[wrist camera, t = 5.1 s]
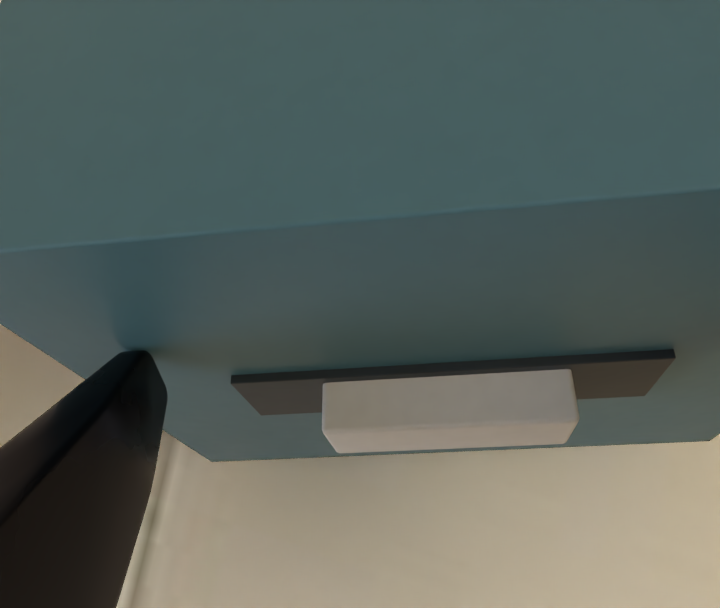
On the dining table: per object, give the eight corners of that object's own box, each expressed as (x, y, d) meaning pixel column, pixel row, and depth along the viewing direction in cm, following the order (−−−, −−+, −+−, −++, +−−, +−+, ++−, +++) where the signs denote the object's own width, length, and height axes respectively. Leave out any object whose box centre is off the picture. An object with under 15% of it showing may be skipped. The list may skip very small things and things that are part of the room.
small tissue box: (722, 485, 14) (1175, 247, 5) (206, 502, 15) (-133, 341, 7) (652, 225, 17) (857, -197, 8) (231, 260, 19) (25, -69, 10)
